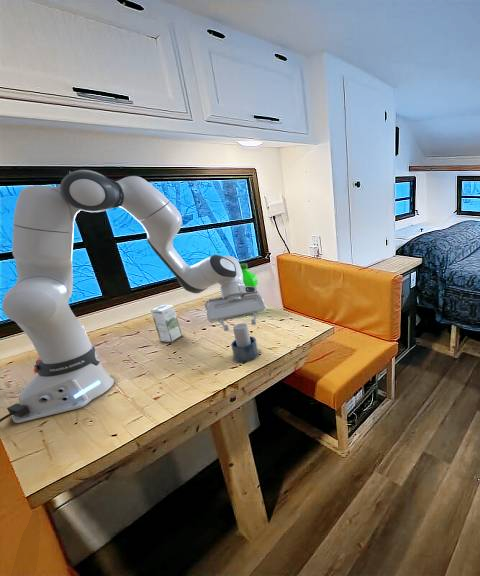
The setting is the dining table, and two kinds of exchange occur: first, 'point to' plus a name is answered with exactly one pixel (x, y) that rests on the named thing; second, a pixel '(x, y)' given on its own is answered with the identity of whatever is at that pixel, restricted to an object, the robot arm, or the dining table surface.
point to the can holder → (245, 351)
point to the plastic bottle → (248, 276)
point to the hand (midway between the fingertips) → (240, 327)
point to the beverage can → (241, 335)
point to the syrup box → (166, 323)
